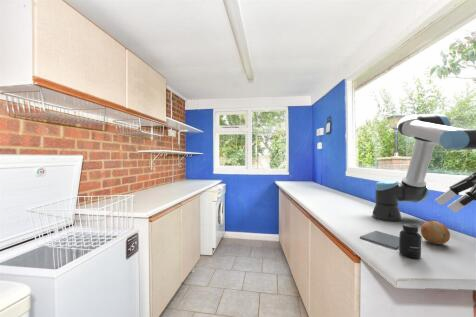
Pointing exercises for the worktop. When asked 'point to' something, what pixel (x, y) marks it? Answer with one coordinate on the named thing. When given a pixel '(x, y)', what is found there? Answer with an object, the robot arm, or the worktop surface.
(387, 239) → the slate tile
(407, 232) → the supplement bottle
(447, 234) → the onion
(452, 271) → the worktop surface
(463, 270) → the worktop surface
